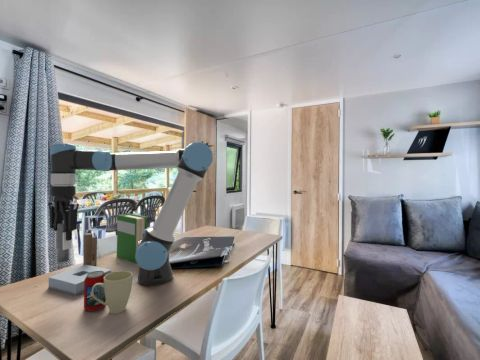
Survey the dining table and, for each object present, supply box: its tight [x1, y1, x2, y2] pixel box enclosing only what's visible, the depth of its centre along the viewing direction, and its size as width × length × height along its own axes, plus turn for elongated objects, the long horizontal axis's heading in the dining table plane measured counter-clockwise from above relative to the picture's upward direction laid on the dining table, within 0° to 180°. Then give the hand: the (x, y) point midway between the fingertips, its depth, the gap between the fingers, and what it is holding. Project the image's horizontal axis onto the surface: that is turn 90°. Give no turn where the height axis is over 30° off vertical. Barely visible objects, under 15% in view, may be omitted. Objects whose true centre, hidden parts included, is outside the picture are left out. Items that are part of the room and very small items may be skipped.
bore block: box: [48, 264, 112, 297], centre depth 104 cm, size 16×16×4 cm
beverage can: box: [83, 271, 106, 312], centre depth 86 cm, size 7×7×12 cm
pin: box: [56, 222, 70, 263], centre depth 90 cm, size 4×4×14 cm
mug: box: [92, 270, 133, 314], centre depth 84 cm, size 11×10×12 cm
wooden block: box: [82, 232, 98, 267], centre depth 121 cm, size 4×11×18 cm, turn 17°
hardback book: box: [116, 213, 148, 264], centre depth 137 cm, size 18×7×24 cm, turn 55°
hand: (63, 248), depth 90 cm, fingers closed on pin, 3 cm apart
